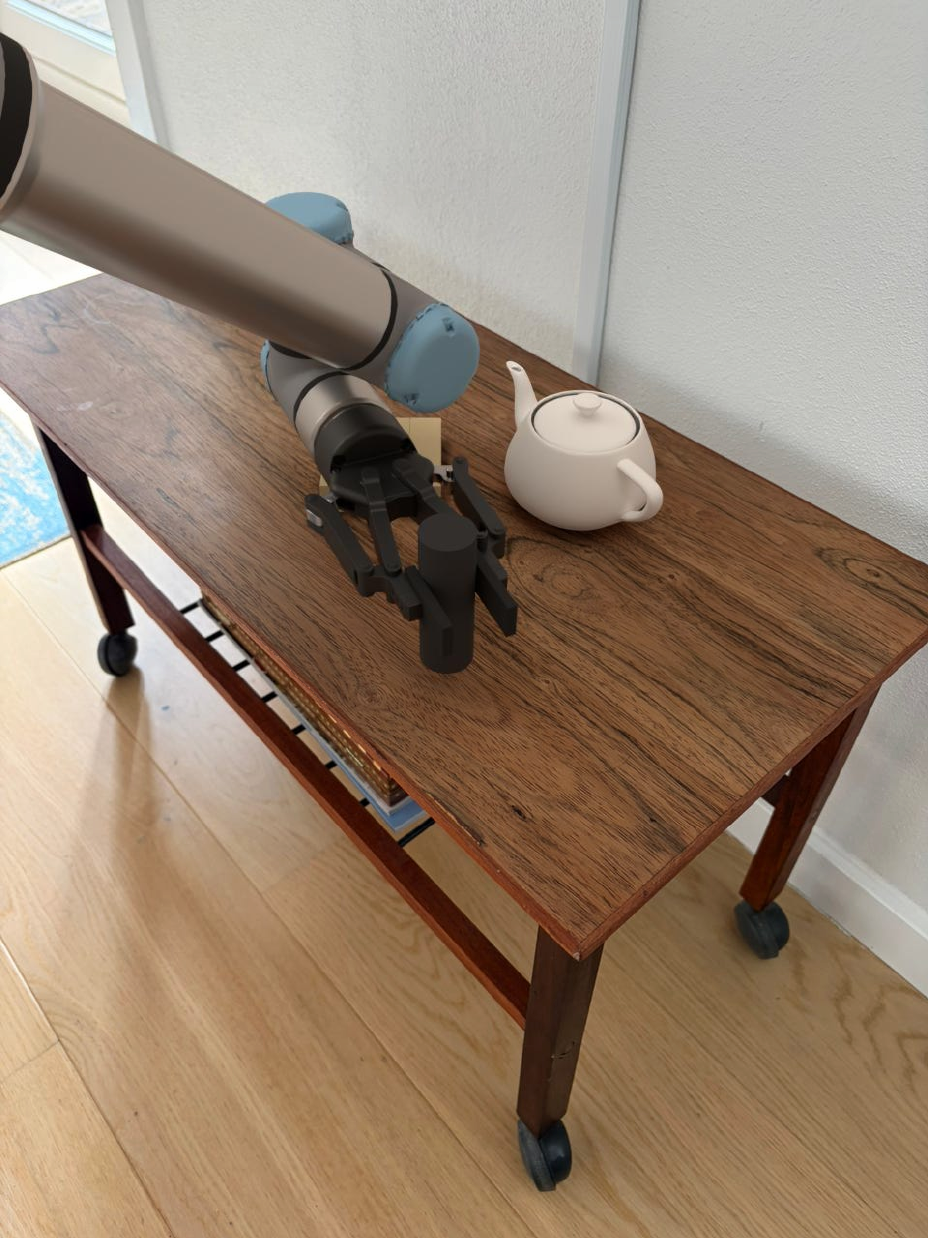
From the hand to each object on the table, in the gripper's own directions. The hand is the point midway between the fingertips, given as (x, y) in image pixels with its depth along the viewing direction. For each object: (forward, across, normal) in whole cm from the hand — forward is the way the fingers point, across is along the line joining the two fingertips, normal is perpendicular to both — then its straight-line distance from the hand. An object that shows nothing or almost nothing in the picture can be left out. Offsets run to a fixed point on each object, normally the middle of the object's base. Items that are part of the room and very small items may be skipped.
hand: (479, 631), depth 68 cm
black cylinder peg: (-5, 0, -8) cm, 9 cm away
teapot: (-22, -20, -11) cm, 32 cm away
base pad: (-32, -5, -10) cm, 34 cm away
